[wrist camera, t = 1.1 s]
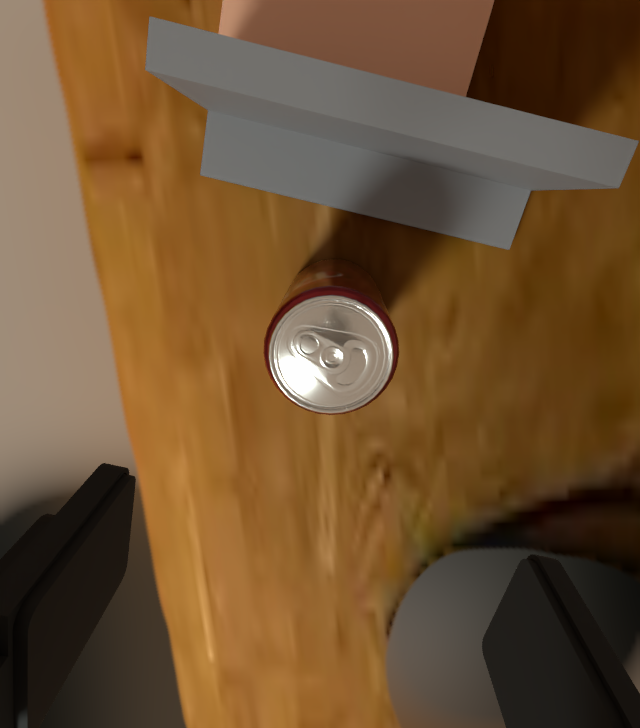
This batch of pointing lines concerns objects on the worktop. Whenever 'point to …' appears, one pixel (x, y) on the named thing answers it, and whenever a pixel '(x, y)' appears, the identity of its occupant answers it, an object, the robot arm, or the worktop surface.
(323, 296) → the soda can
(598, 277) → the worktop surface
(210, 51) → the screen
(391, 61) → the tile
